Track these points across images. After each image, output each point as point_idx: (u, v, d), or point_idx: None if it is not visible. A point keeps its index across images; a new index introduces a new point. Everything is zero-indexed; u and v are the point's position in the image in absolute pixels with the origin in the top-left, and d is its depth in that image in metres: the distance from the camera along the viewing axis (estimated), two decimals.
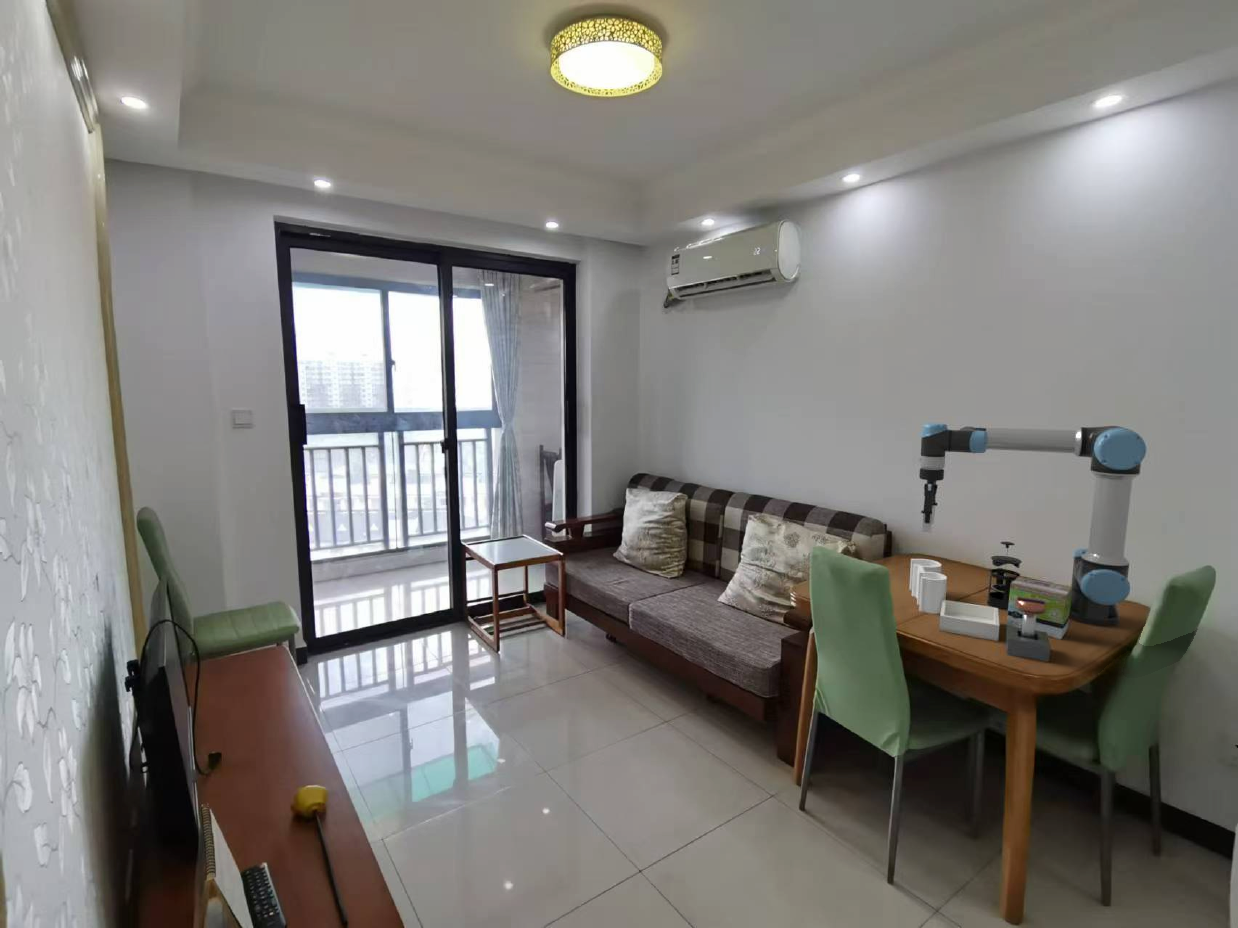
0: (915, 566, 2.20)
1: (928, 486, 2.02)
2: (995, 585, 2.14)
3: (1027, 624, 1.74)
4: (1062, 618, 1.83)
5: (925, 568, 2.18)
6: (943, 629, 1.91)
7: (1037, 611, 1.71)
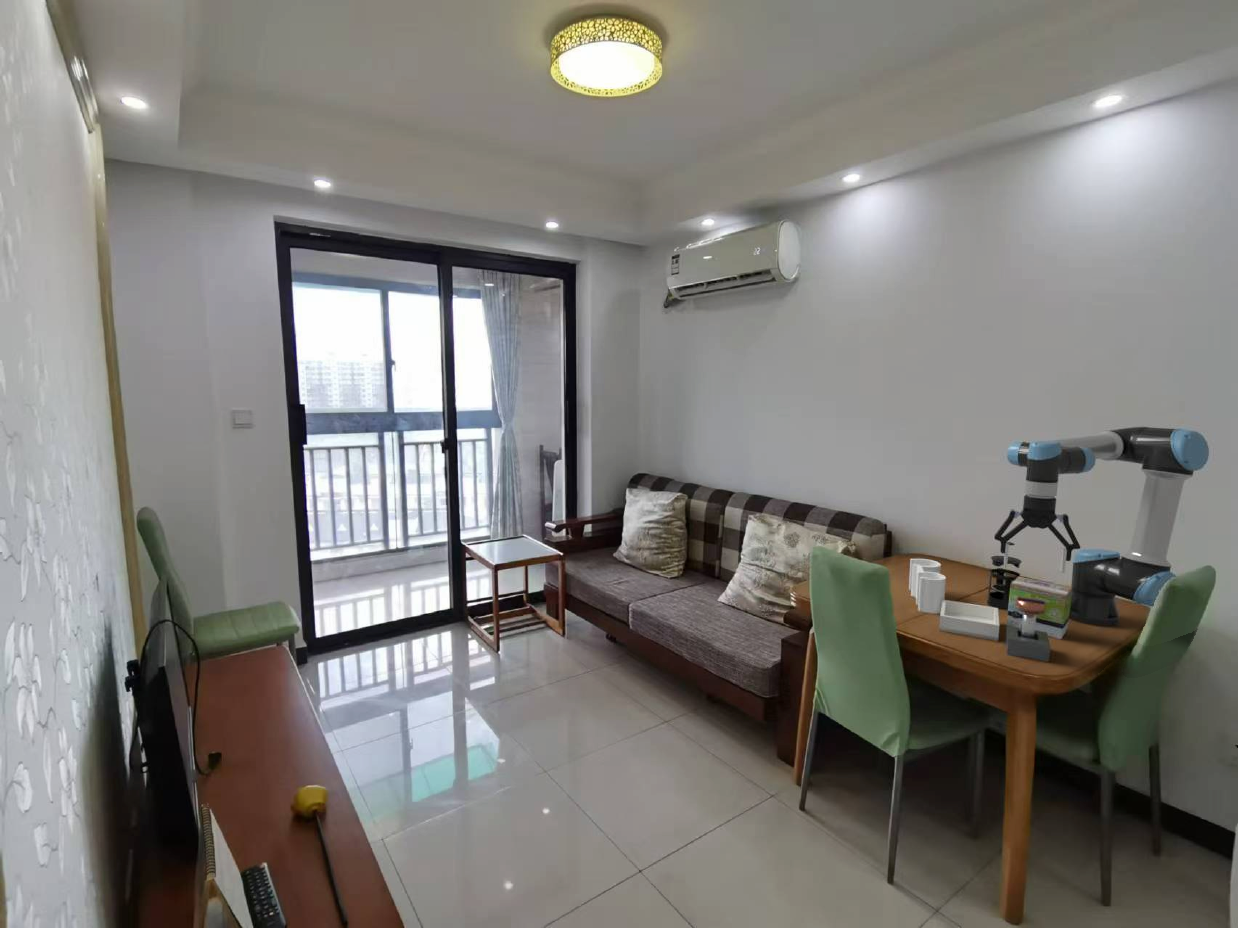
0: (914, 566, 2.20)
1: (1010, 511, 1.74)
2: (995, 585, 2.14)
3: (1027, 624, 1.74)
4: (1062, 618, 1.83)
5: (924, 568, 2.18)
6: (943, 629, 1.91)
7: (1037, 611, 1.71)
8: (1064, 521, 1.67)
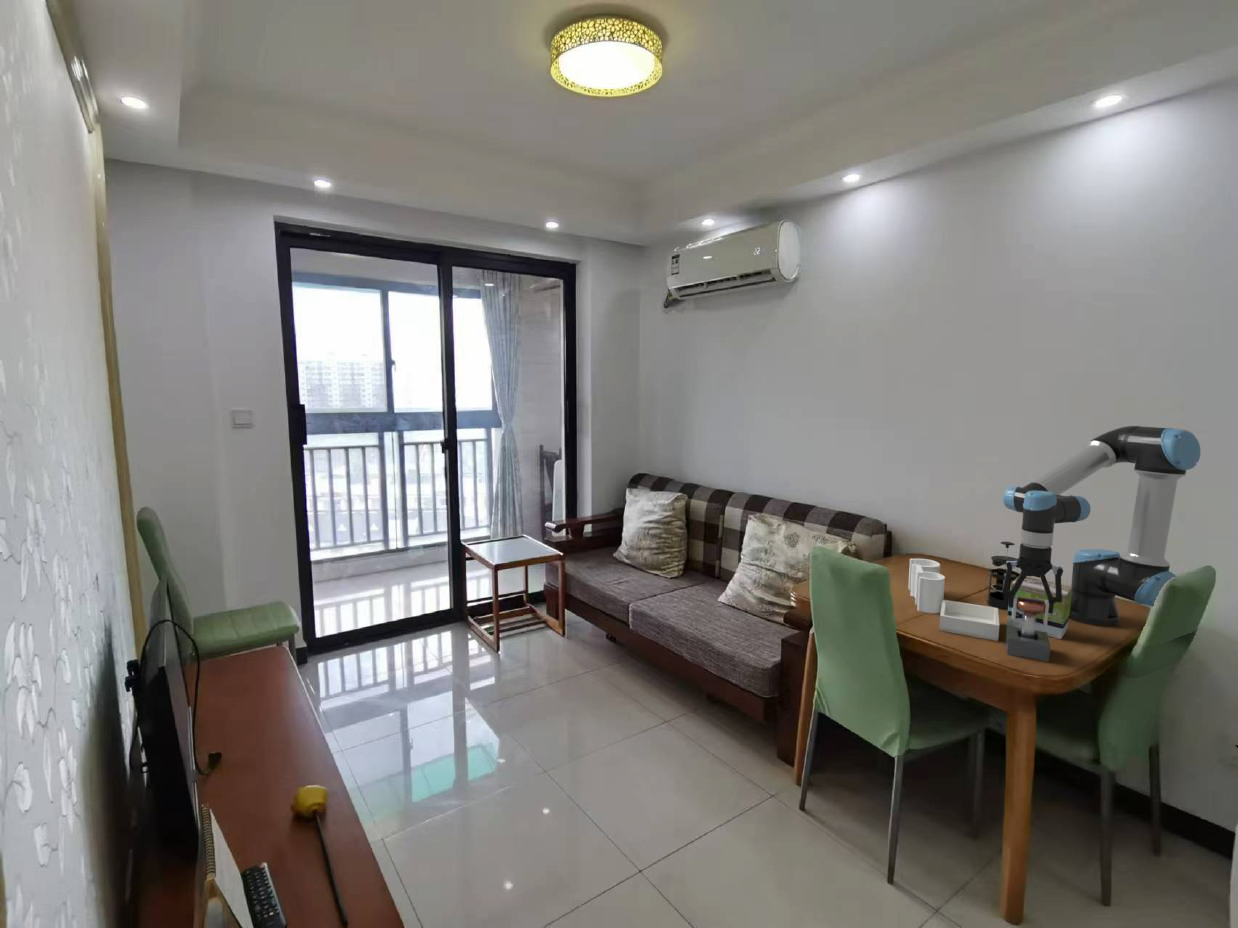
0: (914, 566, 2.20)
1: (1006, 563, 1.77)
2: (995, 585, 2.14)
3: (1027, 624, 1.74)
4: (1062, 618, 1.83)
5: (923, 568, 2.18)
6: (943, 629, 1.91)
7: (1037, 611, 1.71)
8: (1057, 574, 1.69)
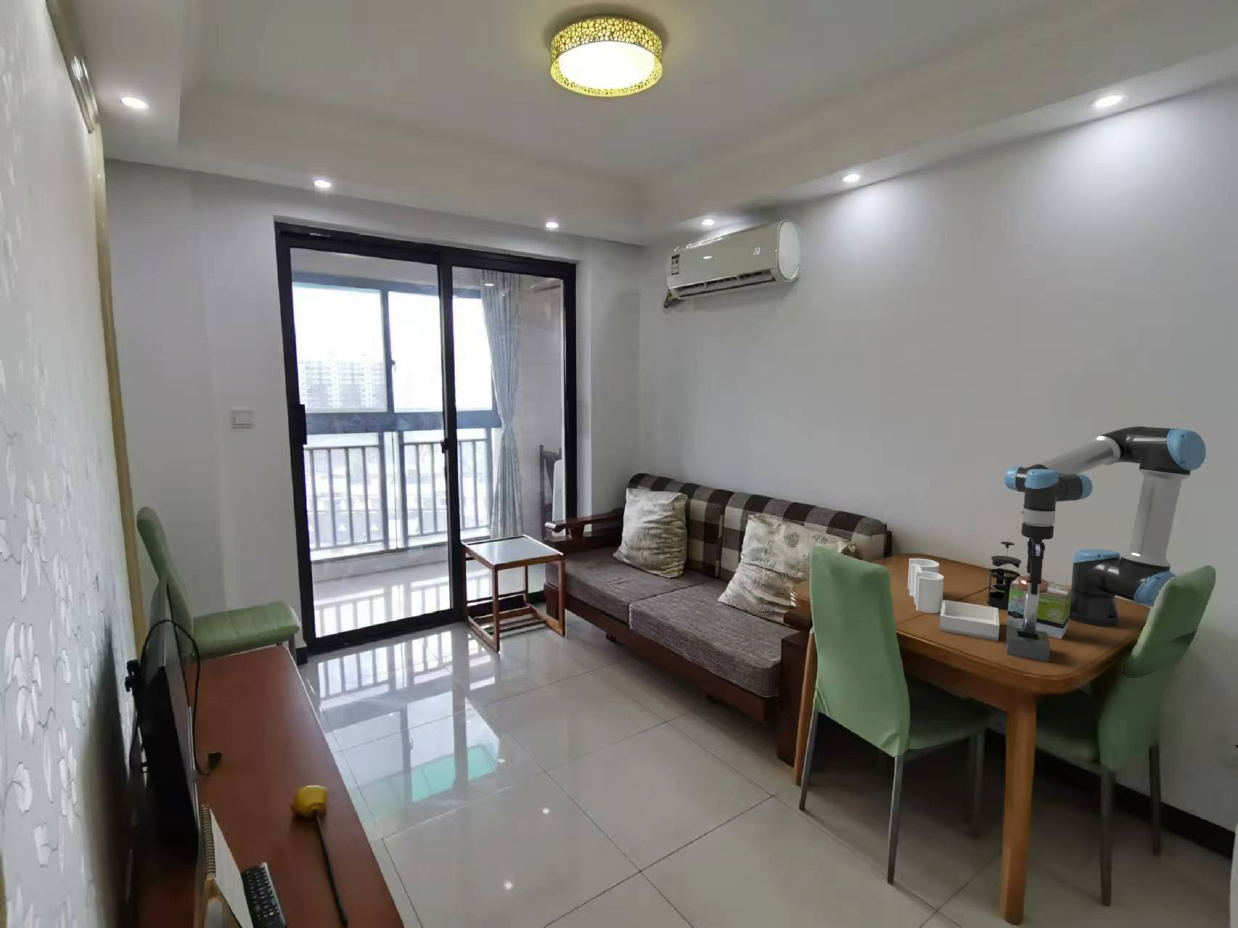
0: (913, 566, 2.20)
1: (1036, 551, 1.67)
2: (995, 585, 2.14)
3: None
4: (1062, 618, 1.83)
5: (923, 568, 2.18)
6: (943, 629, 1.91)
7: None
8: None
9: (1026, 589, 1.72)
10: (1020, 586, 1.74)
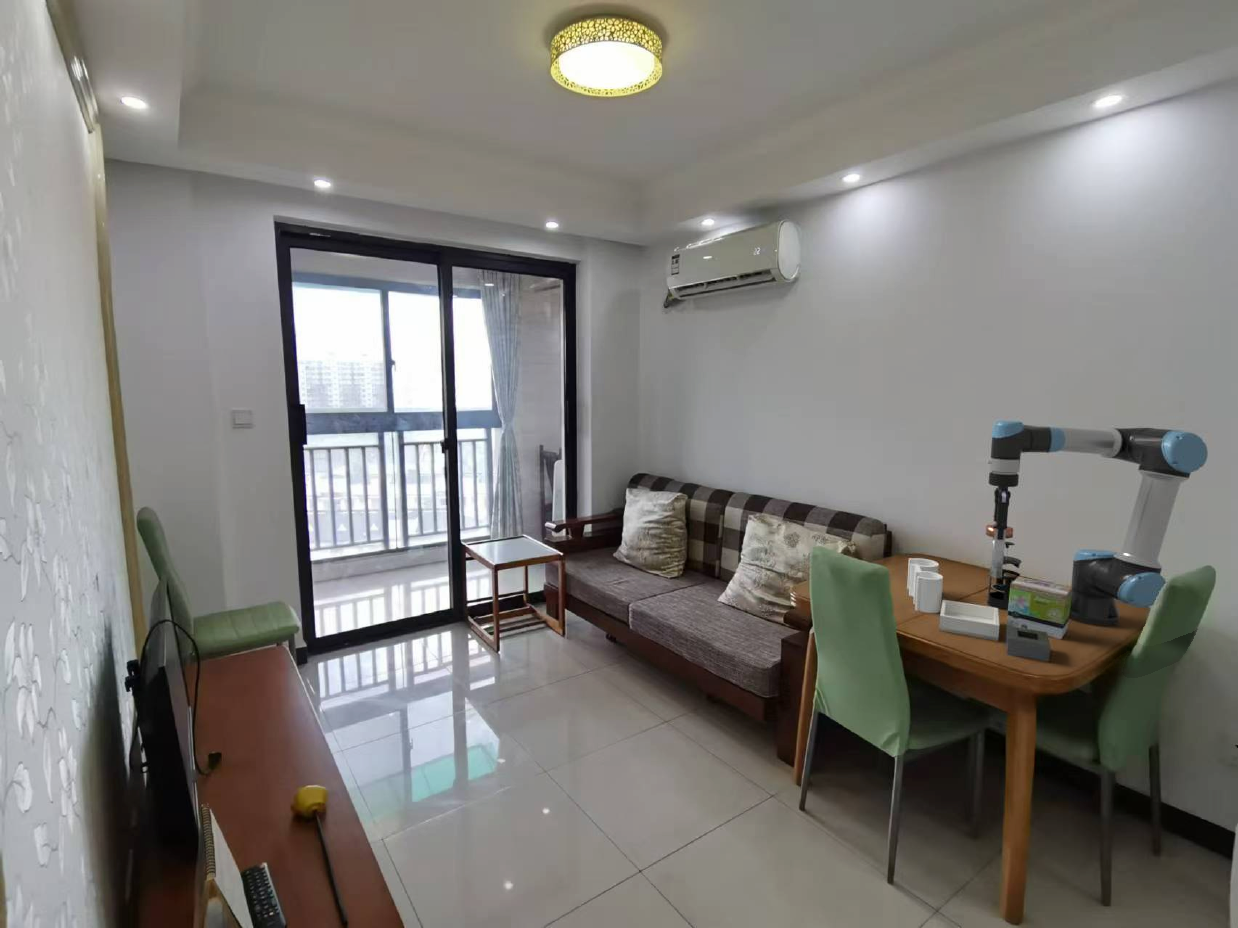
0: (912, 565, 2.20)
1: (1002, 498, 1.75)
2: (995, 585, 2.14)
3: None
4: (1062, 618, 1.83)
5: (922, 568, 2.18)
6: (943, 629, 1.91)
7: None
8: None
9: (993, 535, 1.81)
10: (987, 533, 1.82)
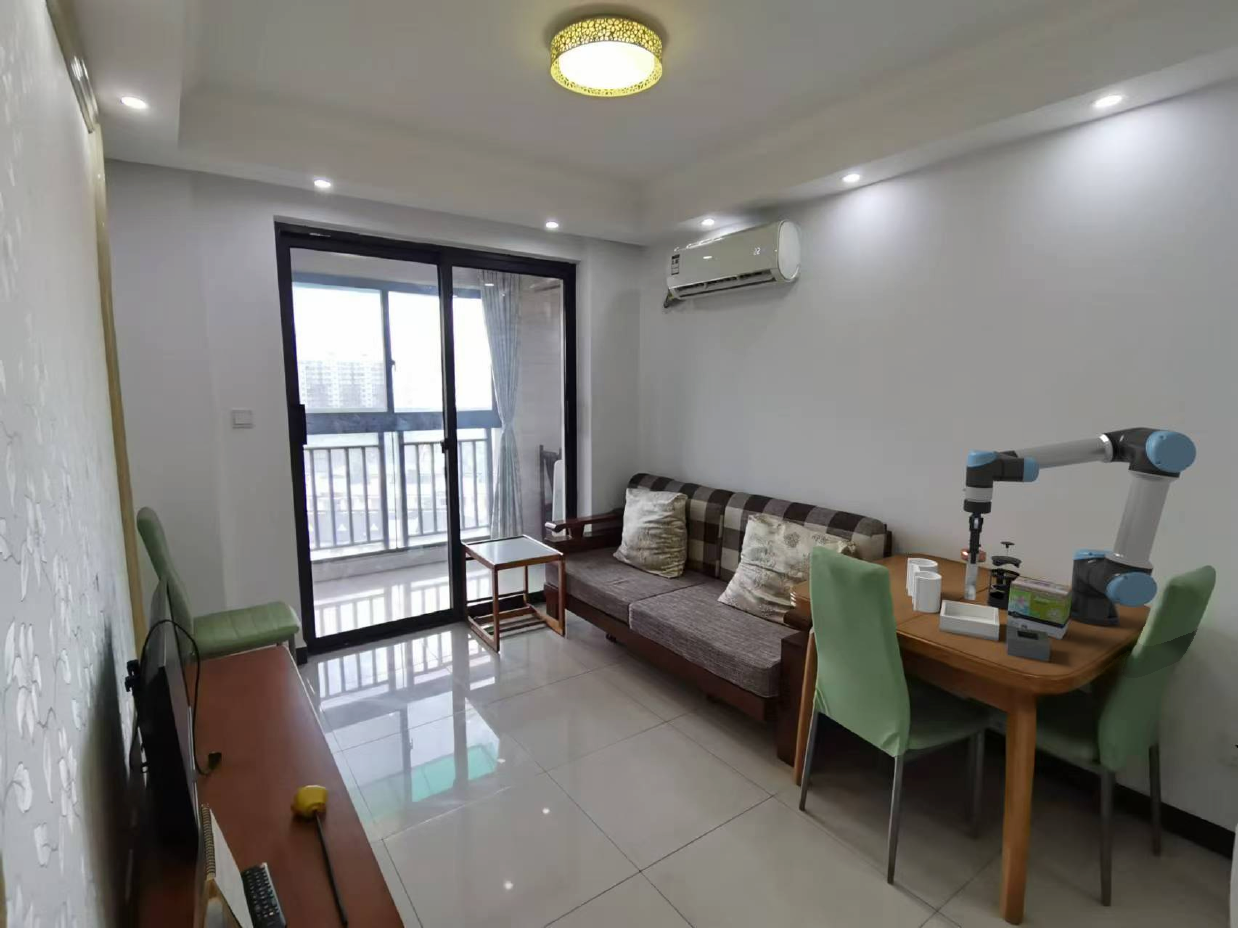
0: (911, 565, 2.21)
1: (974, 524, 1.84)
2: (995, 585, 2.14)
3: (977, 572, 1.91)
4: (1062, 618, 1.83)
5: (921, 567, 2.19)
6: (943, 629, 1.91)
7: None
8: None
9: (966, 559, 1.89)
10: (961, 557, 1.91)
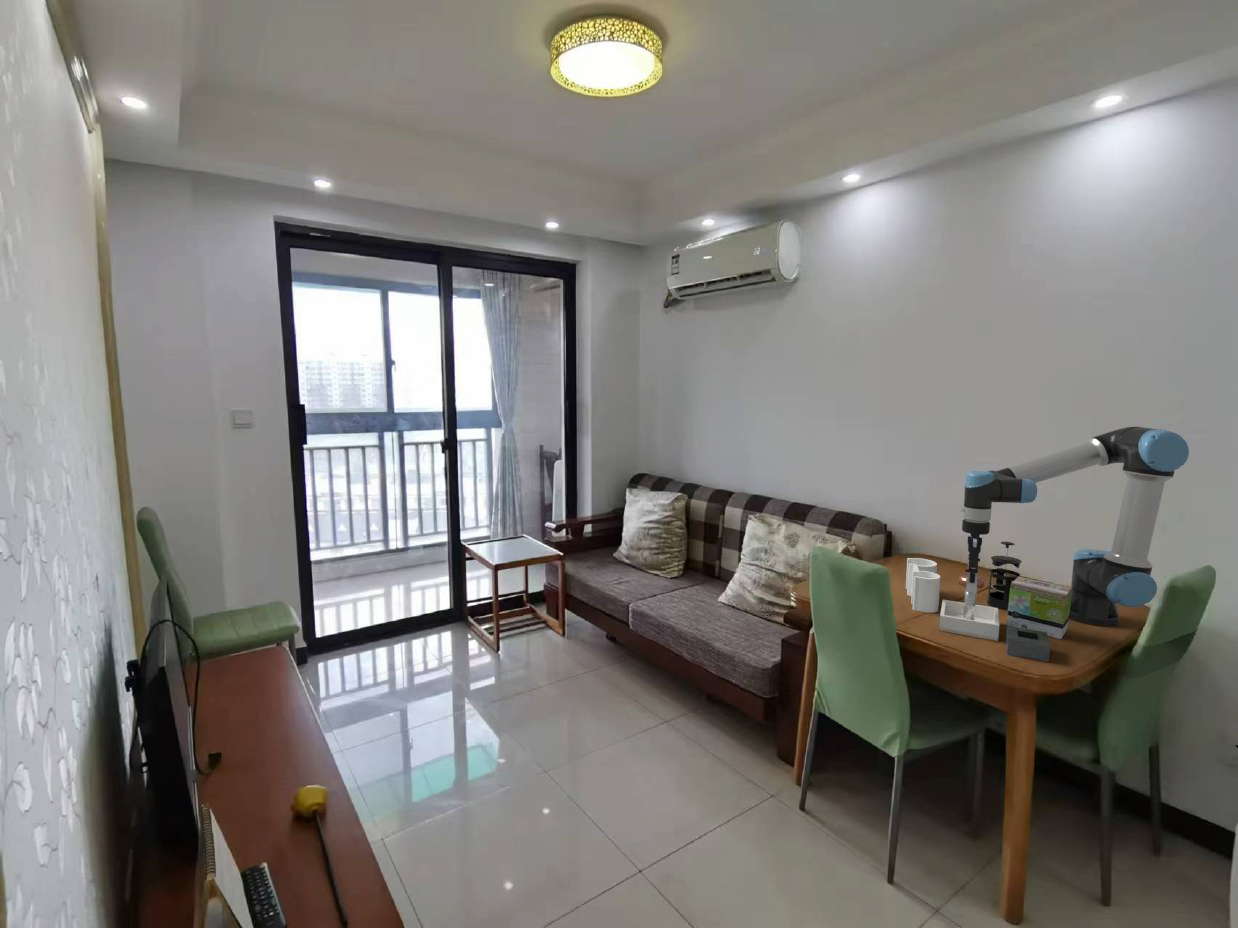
0: (910, 565, 2.21)
1: (973, 542, 1.85)
2: (995, 585, 2.14)
3: (975, 598, 1.92)
4: (1062, 618, 1.83)
5: (920, 567, 2.19)
6: (943, 629, 1.91)
7: None
8: None
9: (965, 585, 1.91)
10: (960, 583, 1.93)
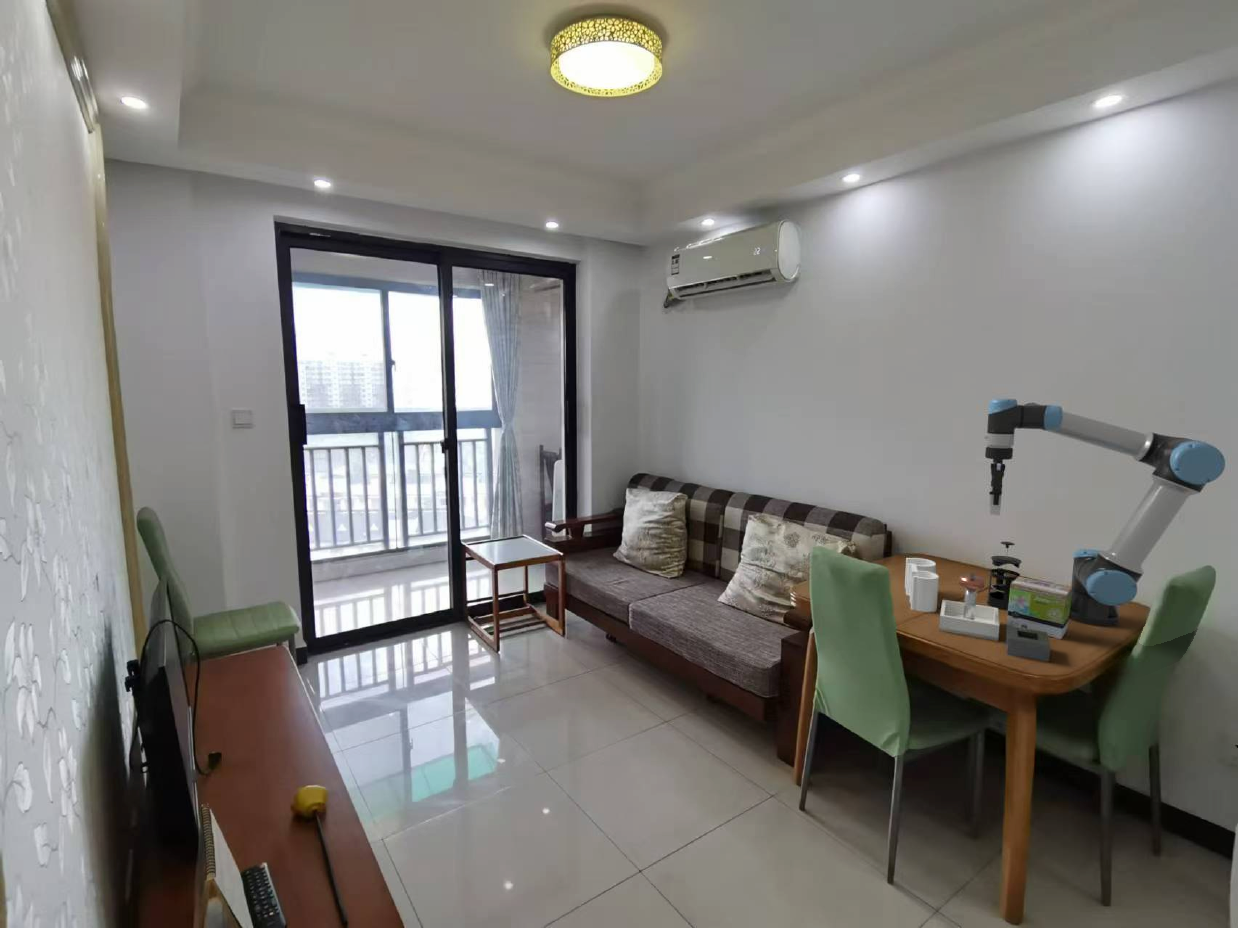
0: (909, 565, 2.21)
1: (997, 465, 1.89)
2: (995, 585, 2.14)
3: None
4: (1062, 618, 1.83)
5: (919, 567, 2.19)
6: (943, 629, 1.91)
7: None
8: None
9: (965, 585, 1.91)
10: (960, 583, 1.92)
